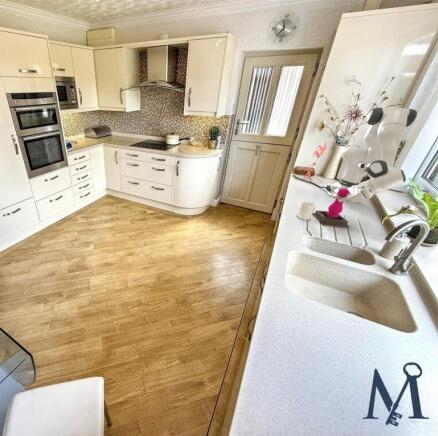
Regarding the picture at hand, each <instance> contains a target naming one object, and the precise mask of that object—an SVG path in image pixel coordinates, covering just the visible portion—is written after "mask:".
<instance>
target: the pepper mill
mask: <svg viewBox="0 0 438 436" xmlns="http://www.w3.org/2000/svg"><path fill="white" fill-rule="evenodd" d="M349 193H350V191H349V190H348V187H344V188H343V189H339V190H338V192H337V194H338V195H337V196H336V198H335V200H334V201H333V202H332V203H331V204H329V206H328V208H327V211H328V212H327V215H328V216H330V217H335V218H337V217H338V216H339V215H340V214H341V213H342V212H343V209H344V207H343V205H344V202H345V201H342V202H339V201H338V199H340V198H345V197H347V194H349Z"/></svg>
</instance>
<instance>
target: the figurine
mask: <svg viewBox="0 0 438 436" xmlns="http://www.w3.org/2000/svg"><path fill="white" fill-rule="evenodd" d="M327 144H328V142H327V141H324V143H323V145H321V144H319V145H318V147H317V148H316V149H315V151H314V152H313V155H312V157H314V156H315V157H316V160H315V162H312V164H310V165H309V168H310V169H309V171H307V173H306V174H305V175H303V178H302V179H303V180H306V179H307V177H308V179H309V182H312V180H311V175H312V174H311V171H312V169H313V167H312V166H316V165H317V161H318V160H319V159H321V158H320V157H321V156H323V153H324V152H325V150H326V148H327ZM319 151H320V152H319ZM314 178H316V179H317V177H314ZM303 180H302V181H303ZM318 180H319V182H322V180H320V178H318Z"/></svg>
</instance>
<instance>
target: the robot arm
mask: <svg viewBox="0 0 438 436" xmlns="http://www.w3.org/2000/svg"><path fill="white" fill-rule="evenodd" d="M417 115H418V111H417V110H416V109H413V108H404V107H381V106H380V107H374V108H373V109H371V111H370V112H369V113H368V114H367V115H366V124H367V125H369V128H368V129H367V131H366V133H365V135H364V136H363V138H362V141H363V143H364V144H365V145H366V146H368V147H363V146H347V147H345V148H344V150H342V152H341V158H342V160H343V162H344V163H345V165H346V169H345V172H344V175H343V177H341V178H339V181H338V182H335V183H332V184H331V185H328V184H327V185H326V186H320V185H318V184H316V183H314V182H312V181H310V180H306V179H304V178H300V177H297V176H296V175H295V174H292V175H291V177H294V178H295V179H297V180H300V181H303V182H305V183H309V184H312V185H315V186H316V187H318V188H320V189H324V191H325V192H326V193H327V194H328V196H329V197H330V198H331V197H332V198H335V199H336V196H337V195H338V194H337V192H338V190H339V189H343V188H344V187H348V190H349V191H350V193H349V194H347V197H345V198H340V199H338V201H339V202H342V201H344V202H346V201H347V202H349V204H354V203H358V202H361V201H363V200H365V199H366V200H369V199H372V197H373V196H374V195H377V194H379V193H381V192H384V191H388V190H391V189H393V188H396V187H399V186H401V185H403V184H404V183H405V182H406V181H407V178H406V174H405V172H404V170H403V169H402V168H397V167H395V162H396V159H397V155H398V150H399V148H400V145H401V141H402V139H403V136H404V133H405V130H406V128H408V127H410V126H412V124H413V123H414V122H415V121H416V120H417ZM359 164H363V165H366V166H365V170H364V169H363V168H362V167H360V166H359ZM365 173H366V174H367V176H368V177H369V179H367V180H365V181H362V180H363V178H364V176H365ZM303 179H304V180H303Z"/></svg>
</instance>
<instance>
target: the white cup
mask: <svg viewBox="0 0 438 436" xmlns="http://www.w3.org/2000/svg"><path fill="white" fill-rule="evenodd" d="M316 208H317V204H315V203H314V202H312V201H311V202H310V201H306V200H305V201H302V202H301V205H300V207H299V210H298V214H297V217H298V218H299V219H300V220H304V221H308V220H310V218H311V217H312V216H313V215H312V213H315V212H314V211H316Z"/></svg>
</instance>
